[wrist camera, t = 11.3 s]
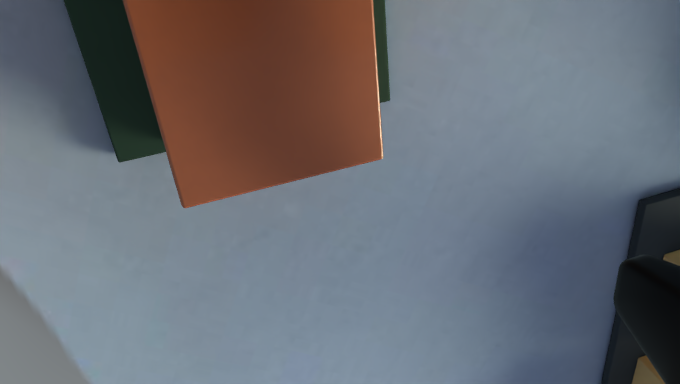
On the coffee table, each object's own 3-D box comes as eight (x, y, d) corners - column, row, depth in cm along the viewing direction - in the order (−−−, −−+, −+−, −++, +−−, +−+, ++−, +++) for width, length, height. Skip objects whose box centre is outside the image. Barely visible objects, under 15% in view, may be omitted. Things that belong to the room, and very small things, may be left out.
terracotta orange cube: (170, 143, 17) (182, 210, 14) (117, -44, 14) (120, -7, 12) (341, 104, 18) (384, 159, 15) (322, -78, 16) (371, -51, 13)
